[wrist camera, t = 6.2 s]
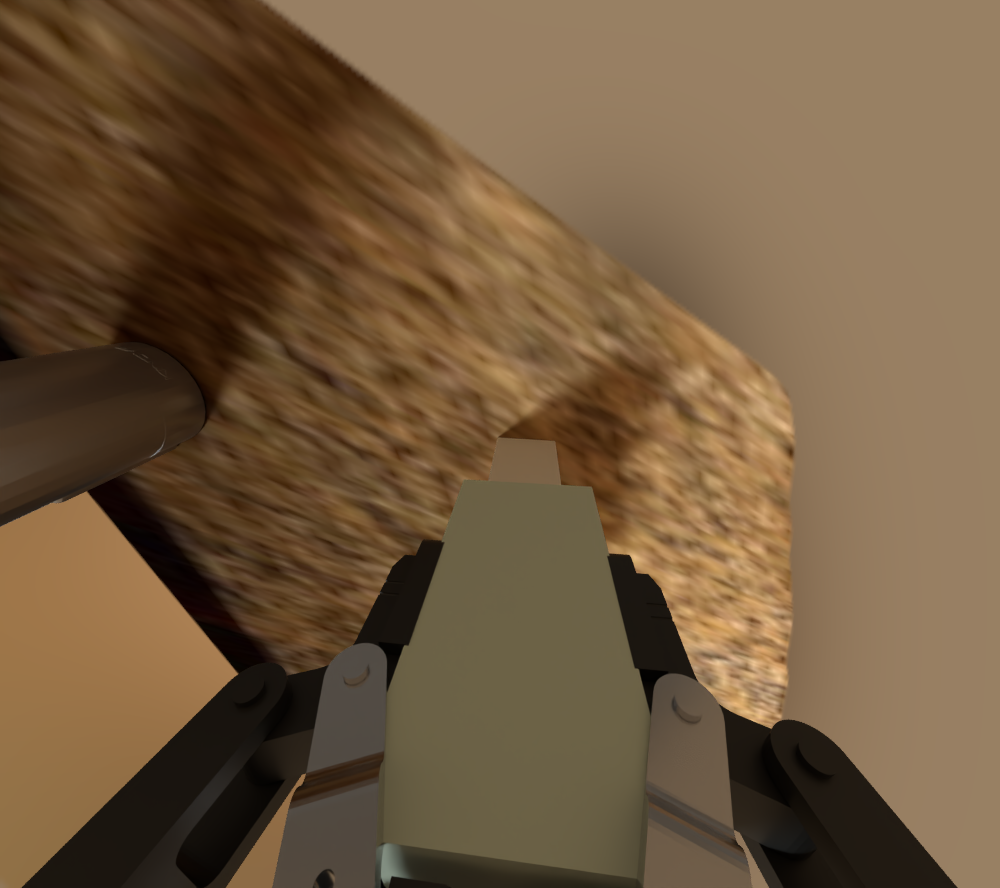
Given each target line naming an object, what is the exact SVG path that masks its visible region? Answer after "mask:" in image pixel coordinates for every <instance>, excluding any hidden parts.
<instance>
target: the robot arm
mask: <svg viewBox="0 0 1000 888" xmlns="http://www.w3.org/2000/svg"><path fill="white" fill-rule="evenodd" d="M205 413H206V411H205V404H204V400H203V397H202V394H201V391H200V390H199V388H198V386H197V384H196V382H195V381H194V379H193V378H192V377H191V375H190V374H189V373H188V371H187V370H186V369H185V368H184V367H183V366H182V365H181V364H180V363H179V362H178V361H176V360H175V359H174V358H172V357H171V356H170V355H168V354H167V353H165V352H163V351H161V350H160V349H158V348H156V347H153V346H150V345H147V344H144V343H138V342H125V343H118V344H111V345H105V346H98V347H92V348H86V349H79V350H72V351H65V352H59V353H53V354H46V355H40V356H34V357H27V358H21V359H15V360H8V361H2V362H0V527H1V526H3V525H5V524H7V523H9V522H11V521H13V520H16V519H18V518H20V517H22V516H24V515H26V514H28V513H31V512H33V511H35V510H37V509H39V508H41V507H44V506H45V505H48V504H50V503H61V502H64V501H67V500H69V499H71V498H73V497H75V496H77V495H79V494H81V493H84V492H86V491H88V490H90V489H92V488H94V487H96V486H98V485H100V484H102V483H104V482H107V481H109V480H111V479H113V478H115V477H117V476H119V475H121V474H123V473H125V472H127V471H130V470H132V469H134V468H136V467H138V466H140V465H142V464H144V463H146V462H148V461H150V460H153V459H155V458H157V457H159V456H161V455H163V454H165V453H167V452H169V451H171V450H173V449H175V448H176V447H177V444H179V443H181V442H183V441H186V440H188V439H190V438H192V437H193V436H195V435H196V434H197V433H198V432H199V431H200V430H201V428H202V426H203V424H204V421H205ZM444 543H445V542H442V541H438V540H425V539H424V540H423V541H422V543H421V545H420V547H419V549H418V552H417V554H416V556H413V555H404V556H403V557H402V558H401V559H400V560H399V561H398V562H397V563H396V564H395V565H394V566H393V567H392V569H391V571H390V573H389V575H388V577H387V579H386V583H384V585H383V587H382V589H381V591H380V595H378V597H377V599H376V601H375V603H374V605H373V607H372V609H371V611H370V613H369V615H368V617H367V619H366V621H365V623H364V625H363V627H362V629H361V631H360V633H359V635H358V637H357V639H356V641H355V643H354V644H353V646H351V647H348V648H347V649H345V650H343V651H342V652H341V653H339V654H338V655H337V656H336V657H335V658H334V659H333V660H332V662H331V663H330V664H329V665H327V666H325V667H322V668H319V669H315V670H310V671H306V672H301V673H297V674H292V675H288V676H287V674H286V672H285V670H284V669H283V668H282V666H280V665H278V664H275V663H262V664H258V665H255V666H252V667H250V668H248V669H246V670H244V671H243V672H241V673H239V674H238V675H237V676H235V677H234V678H233V679H232V680H231V681H230V682H228V683H227V685H225V687H223V688H222V689H221V690H220V691H219V692H218V693H217V694H216V696H214V697H213V698H212V699H211V700H210V701H209V702H208V703H207V704H206V705H205V706H204V707H203V708H202V709H201V710H200V711H199V712H198V713H197V714H196V715H195V716H194V717H193V718H192V719H191V720H190V721H189V722H188V723H187V724H186V725H185V726H184V727H183V728H182V729H181V730H180V731H179V732H178V733H177V734H176V735H175V736H174V737H173V738H172V739H171V740H170V741H169V742H168V743H167V744H166V745H165V746H164V747H163V748H162V749H161V750H160V751H159V752H158V753H157V754H156V755H155V756H154V757H153V758H152V759H151V760H150V761H149V762H148V763H147V764H146V765H145V766H144V767H143V768H142V769H141V770H140V771H139V772H138V773H137V774H136V775H135V776H134V777H133V778H132V779H131V780H130V781H129V782H128V783H127V784H126V785H125V786H124V787H123V788H122V789H121V790H120V791H119V792H118V793H117V794H115V795H114V796H113V797H112V799H111V800H109V801H108V802H107V803H106V804H105V805H104V806H103V808H101V809H100V810H99V811H98V812H97V813H96V814H95V815H94V816H93V817H92V818H91V819H90V820H89V821H88V822H87V823H86V824H85V825H84V826H83V827H82V828H81V829H80V830H79V831H78V832H77V833H76V834H75V835H74V836H73V837H72V838H71V839H70V840H69V841H68V842H67V843H66V844H65V845H64V846H63V847H62V848H61V849H60V850H59V851H58V852H57V853H56V854H55V855H54V856H53V857H52V858H51V859H50V860H49V861H48V862H47V863H46V864H45V865H44V866H43V867H42V868H41V869H40V870H39V871H38V872H37V873H36V874H35V875H34V876H33V877H32V878H31V879H30V880H29V881H28V882H27V883H26V884H25V885H24V886H23V887H22V888H226V886H227V885H228V883H229V882H230V880H231V879H232V877H233V876H234V874H235V873H236V871H237V870H238V869H239V867H240V865H241V864H242V863H243V861H244V860H245V858H246V857H247V855H248V854H249V852H250V851H251V849H252V848H253V846H254V845H255V843H256V842H257V840H258V839H259V837H260V836H261V834H262V833H263V831H264V830H265V828H266V827H267V825H268V824H269V823H270V821H271V820H272V818H273V817H274V815H275V814H276V812H277V810H278V809H279V808H280V806H281V805H282V803H283V802H284V800H285V799H286V797H287V796H288V794H289V793H290V791H291V790H292V788H293V787H294V786H295V784H296V782H297V781H298V780H299V778H300V777H301V775H302V774H306V776H305V779H304V782H303V784H302V785H301V786H299V787H298V788H297V789H296V790H295V792H294V794H293V796H292V799H291V802H290V806H289V809H288V814H287V818H286V824H285V828H284V833H283V838H282V843H281V847H280V852H279V857H278V862H277V867H276V872H275V877H274V882H273V887H272V888H386V887H385V886H384V884H383V881H382V878H381V865H382V854H383V847H384V843H383V830H384V792H385V753H386V714H387V692H388V689H389V686H390V683H391V681H392V678H393V675H394V672H395V669H396V667H397V664H398V661H399V658H400V656H401V653H402V650H403V647H404V645H406V646H409V643H410V640H411V637H412V635H413V632H414V629H415V626H416V623H417V620H418V617H419V614H420V612H421V609H422V606H423V603H424V600H425V597H426V594H427V591H428V589H429V586H430V583H431V580H432V577H433V574H434V571H435V568H436V566H437V563H438V560H439V557H440V554H441V551H442V548H443V545H444ZM607 558H608V562H609V566H610V570H611V574H612V578H613V582H614V586H615V590H616V594H617V598H618V603H619V607H620V611H621V615H622V619H623V623H624V627H625V631H626V635H627V639H628V643H629V647H630V651H631V655H632V659H633V664H634V668H635V669H639V673H640V677H641V681H642V685H643V689H644V692H645V696H646V700H647V704H648V708H649V712H650V728H649V740H648V752H647V764H646V776H645V788H644V800H643V812H642V824H641V836H640V848H639V860H638V872H637V880H636V882H635V883H636V888H752V884H751V876H750V870H749V865H748V861H747V858H746V855H745V852H744V850H743V848H742V847H741V846H740V845H738V843H737V841H736V838H735V835H734V830H736V831H738V832H740V834H741V835H742V838H743V839H744V841H745V843H746V845H747V847H748V849H749V851H750V853H751V854H752V856H753V858H754V860H755V862H756V864H757V866H758V868H759V869H760V871H761V873H762V875H763V877H764V879H765V881H766V883H767V884H768V886H769V888H957V887H956V885H955V884H954V883H953V882H952V881H951V879H950V878H949V877H948V876H947V875H946V874H945V872H944V871H943V870H942V869H941V868H940V867H939V865H938V864H937V863H936V862H935V860H934V859H933V858H932V857H931V856H930V854H929V853H928V852H927V851H926V850H925V849H924V847H923V846H922V845H921V844H920V843H919V842H918V840H917V839H916V838H915V837H914V835H913V834H912V833H911V832H910V831H909V829H907V827H906V826H905V825H904V824H903V822H902V821H901V820H900V819H899V818H898V816H897V815H896V814H895V813H894V812H893V810H892V809H891V808H890V807H889V806H888V805H887V803H886V802H885V801H884V800H883V799H882V797H881V796H880V795H879V794H878V793H877V791H876V790H875V789H874V788H873V787H872V785H871V784H870V783H869V782H868V781H867V779H866V778H865V777H864V776H863V775H862V774H861V772H860V771H859V770H858V769H857V768H856V766H855V765H854V764H853V763H852V762H851V761H850V759H849V758H848V757H847V756H846V755H845V753H844V752H843V751H842V750H841V749H840V748H839V747H838V746H837V745H836V744H835V743H834V742H833V741H832V740H830V739H829V738H828V737H827V736H825V735H824V734H823V733H821V732H820V731H818V730H816V729H815V728H813V727H811V726H809V725H807V724H805V723H802V722H799V721H795V720H782V721H779V722H777V723H776V724H775V725H774V726H773V728H772V729H770V728H768V727H765V726H763V725H761V724H758V723H756V722H753V721H751V720H749V719H746V718H744V717H741V716H739V715H737V714H735V713H733V712H730V711H729V710H727V709H725V708H724V707H722V706H721V705H720V704H718V702H717V701H716V699H715V698H714V696H713V695H712V694H711V693H710V692H709V691H708V690H707V689H706V688H705V687H704V686H703V685H701V684H700V683H699V682H698V680H697V679H696V677H695V674H694V672H693V670H692V667H691V664H690V662H689V659H688V657H687V654H686V652H685V649H684V647H683V644H682V641H681V639H680V636H679V634H678V631H677V629H676V626H675V624H674V622H673V621H672V616H671V613H670V611H669V608H667V603H666V601H665V598H664V596H663V593H662V590H661V588H660V587H659V586H658V585H657V584H656V583H655V581H654V580H653V579H652V578H651V577H650V576H649V575H648V574H639V573H636V571H635V568H634V565H633V562H632V559H631V557H630V555H622V554H609V556H607ZM389 888H451V887H450V886H448V885H446V884H440V883H433V882H427V881H420V880H414V879H407V878H401V877H394V876H391V880H390V884H389Z"/></svg>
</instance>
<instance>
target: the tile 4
mask: <svg viewBox="0 0 1000 888" xmlns="http://www.w3.org/2000/svg"><path fill="white" fill-rule="evenodd" d="M488 481H499V482H517V483H535V484H553V485H561V479H560V472H559V465H558V457H557V450H556V443H555V441H548V440H532V439H516V438H500V437H498V439H497V443H496V448H495V452H494V457H493V462H492V466H491V471H490V475H489V480H488Z"/></svg>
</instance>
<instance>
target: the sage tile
mask: <svg viewBox="0 0 1000 888" xmlns="http://www.w3.org/2000/svg"><path fill="white" fill-rule="evenodd" d="M442 542H445V543H444V545H443V548H442V551H441V554H440V557H439V560H438V563H437V566H436V568H435V571H434V574H433V577H432V580H431V583H430V586H429V589H428V591H427V594H426V597H425V600H424V603H423V606H422V609H421V612H420V614H419V617H418V620H417V623H416V626H415V629H414V632H413V635H412V637H411V640H410V643H409V646H406V645H404V647H403V650H402V653H401V656H400V658H399V661H398V664H397V667H396V669H395V672H394V675H393V678H392V681H391V683H390V686H389V689H388V692H387V714H386V753H385V792H384V830H383V843H384V847H383V854H382V865H381V878H382V881H383V884H384V886H385V887H386V888H389V884H390V880H391V876H394V877H401V878H407V879H414V880H420V881H427V882H433V883H440V884H446V885H448V886H450V887H451V888H636V883H635V882H636V880H637V872H638V860H639V848H640V836H641V824H642V812H643V800H644V788H645V776H646V764H647V752H648V740H649V728H650V712H649V708H648V704H647V700H646V696H645V692H644V689H643V685H642V681H641V677H640V673H639V669H635V668H634V664H633V659H632V655H631V651H630V647H629V643H628V639H627V635H626V631H625V627H624V623H623V619H622V615H621V611H620V607H619V603H618V598H617V594H616V590H615V586H614V582H613V578H612V574H611V570H610V566H609V562H608V558H607V556H609V552H608V548H607V544H606V540H605V536H604V532H603V528H602V524H601V521H600V517H599V513H598V509H597V505H596V501H595V497H594V493H593V489H592V487H589V486H571V485H553V484H535V483H517V482H499V481H480V480H464V481H463V483H462V486H461V489H460V492H459V495H458V497H457V500H456V503H455V506H454V508H453V511H452V514H451V517H450V520H449V522H448V525H447V528H446V531H445V533H444V536H443V539H442Z"/></svg>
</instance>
